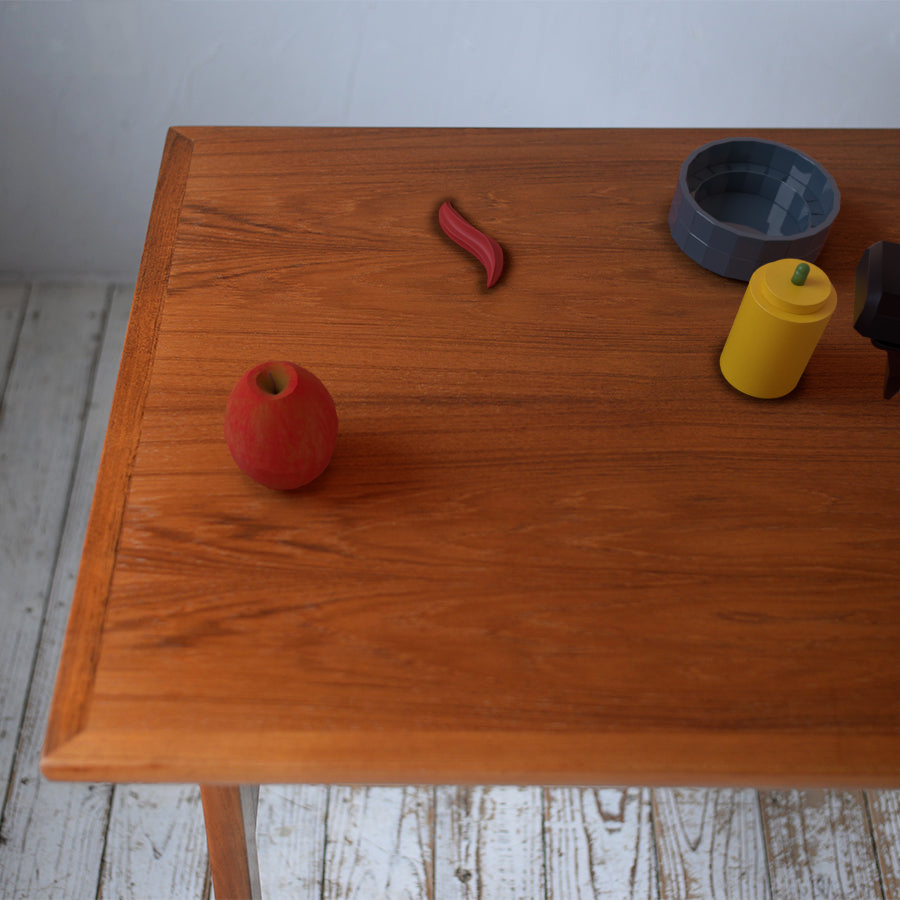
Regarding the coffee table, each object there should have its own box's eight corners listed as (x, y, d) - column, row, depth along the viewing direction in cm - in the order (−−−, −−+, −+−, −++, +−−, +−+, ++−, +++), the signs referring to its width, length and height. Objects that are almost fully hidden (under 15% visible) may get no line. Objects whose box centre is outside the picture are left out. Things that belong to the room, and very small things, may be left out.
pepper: (813, 367, 81) (866, 264, 71) (772, 412, 78) (822, 310, 69) (746, 327, 83) (789, 222, 74) (704, 368, 81) (743, 264, 71)
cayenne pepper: (512, 284, 86) (514, 268, 84) (462, 291, 85) (463, 276, 83) (480, 197, 92) (481, 181, 91) (433, 203, 92) (433, 187, 90)
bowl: (822, 201, 94) (843, 154, 89) (815, 301, 86) (837, 255, 81) (677, 172, 96) (690, 124, 91) (656, 267, 87) (669, 220, 83)
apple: (313, 405, 77) (301, 311, 68) (361, 480, 73) (354, 389, 64) (217, 446, 74) (191, 353, 66) (261, 526, 70) (240, 438, 62)
